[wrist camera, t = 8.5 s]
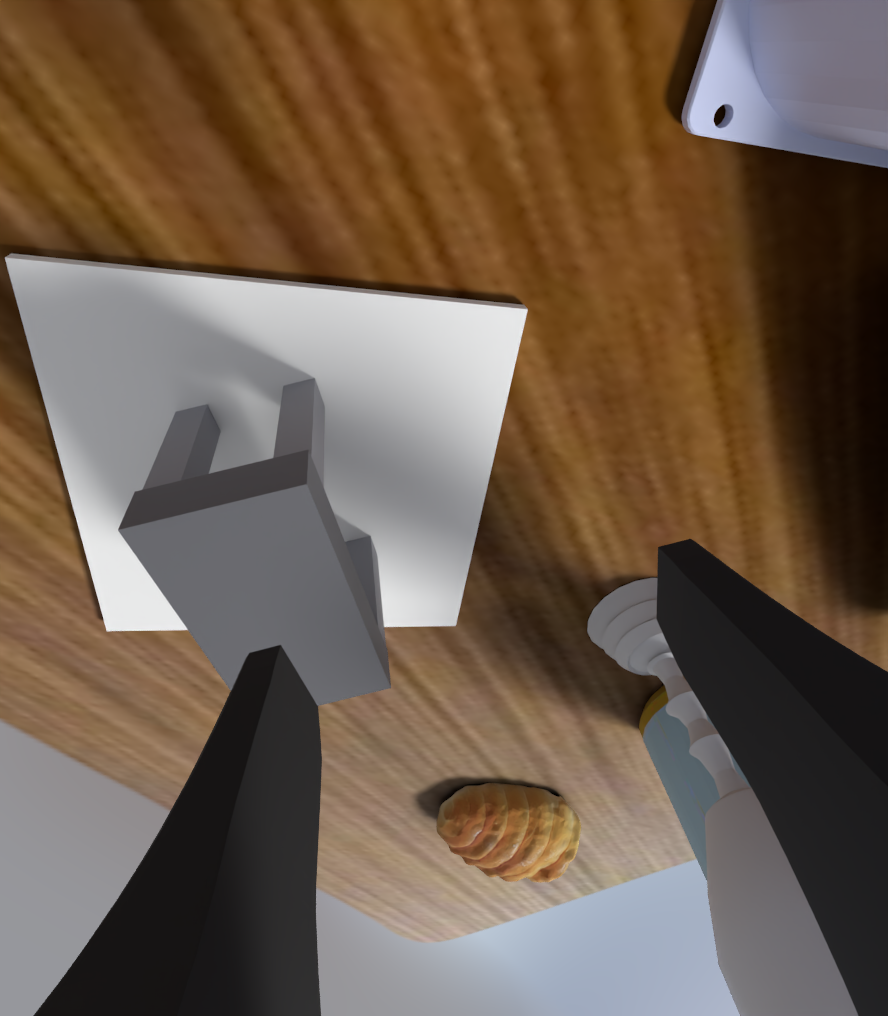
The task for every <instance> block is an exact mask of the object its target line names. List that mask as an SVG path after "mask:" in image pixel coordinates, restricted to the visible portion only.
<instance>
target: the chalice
mask: <svg viewBox="0 0 888 1016" xmlns="http://www.w3.org/2000/svg"><path fill="white" fill-rule="evenodd" d="M656 615H657V578H648V579H643V580H638V581H634V582H632V583H629V584H627V585H624V586H622V587H619V588H618V589H616V590H615V591H613V592H612V593H610V594H609V595H607V596H606V597H604V598H603V599H602V600H601V602H600V603H599V604H598V605H597V606H596V607H595V608H594V609H593V611H592V613H591V615H590V617H589V620H588V628H587V632H588V634H589V636H590V638H591V641H592V642H594V643H595V644H596V645H598V646H599V647H600V648H602V649H604V651H605V653H606V654H608V655H609V656H610V657H611V658H613V659H614V660H616V661H617V663H618V664H619V665H620V666H621V667H623V668H624V669H626V670H628V671H631V672H633V673H636V674H639V675H654V676H658V678H659V679H660V680H661V681H662V682H663V683H664V685H665V688H666V691H667V695H668V699H669V701H668V703H667V706H666V712H667V714H669V715H670V716H673V717H676V718H679V720H680V721H681V722H682V723H683V724H684V725H685V726H686V727H687V728H688V733H689V737H690V742H691V743H690V749H689V753H690V755H692V756H694V757H695V758H697V759H699V760H700V761H701V762H702V764H703V765H704V766H705V768H706V769H707V770H708V771H709V773H710V774H711V775H712V777H713V778H714V780H715V783H716V786H717V789H718V793H719V796H720V799H719V800H718V801H717V802H716V803H715V804H713V805H712V806H711V808H710V809H709V810H708V811H707V812H706V816H705V832H706V858H707V884H708V898H709V905H710V911H711V918H712V924H713V930H714V937H715V944H716V950H717V956H718V963H719V967H720V969H721V971H722V974H723V976H724V978H725V981H726V983H727V985H728V988H729V990H730V993H731V995H732V997H733V1000H734V1002H735V1004H736V1007H737V1009H738V1011H739V1014H740V1016H858V1013H857V1011H856V1009H855V1006H854V1004H853V1002H852V999H851V997H850V995H849V992H848V990H847V988H846V985H845V983H844V981H843V978H842V976H841V974H840V972H839V970H838V967H837V965H836V963H835V961H834V958H833V956H832V954H831V952H830V950H829V947H828V945H827V943H826V941H825V938H824V936H823V934H822V932H821V930H820V927H819V925H818V923H817V921H816V919H815V916H814V914H813V912H812V910H811V908H810V906H809V903H808V901H807V899H806V897H805V895H804V893H803V891H802V889H801V887H800V884H799V882H798V880H797V878H796V876H795V874H794V872H793V870H792V868H791V865H790V863H789V861H788V859H787V857H786V855H785V853H784V851H783V849H782V847H781V845H780V843H779V841H778V839H777V837H776V835H775V833H774V831H773V829H772V827H771V825H770V823H769V821H768V819H767V817H766V815H765V812H764V810H763V808H762V806H761V804H760V802H759V800H758V799H757V797H756V795H755V793H754V792H753V790H752V788H751V787H749V786H748V785H747V784H746V782H745V781H744V780H743V779H742V778H741V776H740V775H739V774H738V773H737V772H736V770H735V768H734V765H733V762H732V759H731V756H730V753H729V750H728V748H727V746H726V745H725V743H724V741H723V740H722V738H721V736H720V735H719V733H718V732H717V730H716V729H715V728H714V727H713V726H712V725H711V724H710V723H709V721H708V720H707V716H706V712H705V710H704V709H703V707H702V706H701V704H700V702H699V701H698V699H697V697H696V696H695V694H694V692H693V691H692V689H691V687H690V686H689V684H688V682H687V681H686V680H685V679H684V678H683V675H682V672H681V671H680V669H679V667H678V665H677V663H676V661H675V659H674V657H673V655H672V652H671V650H670V648H669V646H668V644H667V642H666V639H665V637H664V635H663V633H662V630H661V628H660V626H659V624H658V622H657V619H656Z"/></svg>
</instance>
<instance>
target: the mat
mask: <svg viewBox="0 0 888 1016" xmlns="http://www.w3.org/2000/svg"><path fill="white" fill-rule="evenodd" d="M5 261H6V264H7V268H8V272H9V275H10V279H11V283H12V286H13V290H14V294H15V297H16V301H17V305H18V308H19V312H20V316H21V319H22V323H23V326H24V330H25V334H26V337H27V341H28V345H29V348H30V352H31V356H32V359H33V363H34V367H35V370H36V374H37V378H38V381H39V385H40V389H41V392H42V396H43V400H44V403H45V407H46V411H47V414H48V418H49V422H50V425H51V429H52V433H53V436H54V440H55V443H56V447H57V451H58V454H59V458H60V462H61V465H62V469H63V473H64V476H65V480H66V484H67V487H68V491H69V495H70V498H71V502H72V506H73V509H74V513H75V517H76V520H77V524H78V528H79V531H80V535H81V539H82V542H83V546H84V550H85V553H86V557H87V560H88V564H89V568H90V571H91V575H92V579H93V582H94V586H95V590H96V593H97V597H98V601H99V604H100V608H101V612H102V615H103V619H104V623H105V626H106V630H107V631H150V630H188V629H187V628H186V626H185V625H184V623H183V622H182V621H181V619H180V618H179V616H178V615H177V614H176V612H175V611H174V609H173V608H172V606H171V605H170V604H169V602H168V601H167V599H166V598H165V596H164V595H163V594H162V592H161V591H160V589H159V588H158V587H157V585H156V584H155V582H154V581H153V579H152V578H151V577H150V575H149V574H148V572H147V571H146V569H145V568H144V567H143V565H142V564H141V562H140V561H139V560H138V558H137V557H136V555H135V554H134V552H133V551H132V550H131V548H130V547H129V545H128V544H127V542H126V541H125V540H124V538H123V537H122V535H121V534H120V533H119V531H118V528H119V526H120V524H121V522H122V519H123V517H124V515H125V513H126V510H127V508H128V506H129V504H130V501H131V499H132V497H133V495H134V492H135V491H140V490H142V489H143V487H144V485H145V482H146V480H147V478H148V475H149V473H150V471H151V468H152V466H153V464H154V461H155V459H156V457H157V454H158V452H159V450H160V447H161V445H162V443H163V440H164V438H165V435H166V433H167V431H168V428H169V426H170V424H171V421H172V419H173V417H174V414H175V412H177V411H181V410H185V409H189V408H193V407H197V406H201V405H206V404H208V407H209V409H210V411H211V413H212V415H213V417H214V419H215V421H216V423H217V425H218V427H219V429H220V431H221V433H220V436H219V440H218V443H217V446H216V450H215V453H214V457H213V460H212V464H211V467H210V471H209V474H210V473H214V472H218V471H222V470H226V469H230V468H234V467H238V466H243V465H247V464H251V463H255V462H259V461H263V460H267V459H271V458H273V456H274V448H275V441H276V434H277V427H278V420H279V413H280V406H281V398H282V391H283V386H284V385H288V384H292V383H296V382H301V381H305V380H309V379H313V378H315V380H316V382H317V385H318V388H319V391H320V394H321V397H322V399H323V402H324V405H325V433H324V490H325V492H326V495H327V497H328V500H329V503H330V505H331V508H332V510H333V513H334V515H335V518H336V520H337V523H338V525H339V528H340V531H341V533H342V536H343V538H344V541H345V542H347V541H351V540H355V539H359V538H363V537H367V536H371V538H372V541H373V544H374V547H375V550H376V552H377V556H378V567H379V578H380V589H381V599H382V610H383V621H384V627H415V626H456V623H457V618H458V614H459V609H460V605H461V601H462V596H463V592H464V587H465V583H466V579H467V574H468V570H469V565H470V561H471V557H472V552H473V548H474V543H475V539H476V535H477V530H478V526H479V521H480V517H481V513H482V508H483V504H484V499H485V495H486V490H487V486H488V482H489V477H490V473H491V468H492V464H493V460H494V455H495V451H496V446H497V442H498V438H499V433H500V429H501V424H502V420H503V416H504V411H505V407H506V402H507V398H508V394H509V389H510V385H511V380H512V376H513V372H514V367H515V363H516V358H517V354H518V350H519V345H520V341H521V336H522V332H523V328H524V323H525V319H526V314H527V310H528V309H527V308H526V306H525V305H521V304H511V303H501V302H491V301H481V300H471V299H461V298H451V297H441V296H431V295H421V294H411V293H401V292H391V291H381V290H371V289H361V288H351V287H341V286H331V285H321V284H311V283H301V282H291V281H281V280H271V279H261V278H251V277H241V276H231V275H222V274H212V273H202V272H192V271H182V270H172V269H162V268H152V267H142V266H132V265H122V264H112V263H102V262H92V261H82V260H72V259H62V258H52V257H42V256H32V255H22V254H12V253H11V254H10V255H8V256H6V257H5Z"/></svg>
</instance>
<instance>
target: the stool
mask: <svg viewBox="0 0 888 1016" xmlns="http://www.w3.org/2000/svg"><path fill="white" fill-rule="evenodd" d="M220 433H221V431H220V429H219V427H218V425H217V423H216V421H215V419H214V417H213V415H212V413H211V411H210V409H209V407H208V404H206V405H201V406H197V407H193V408H189V409H185V410H181V411H177V412H175V414H174V417H173V419H172V421H171V424H170V426H169V428H168V431H167V433H166V435H165V438H164V440H163V443H162V445H161V447H160V450H159V452H158V454H157V457H156V459H155V461H154V464H153V466H152V468H151V471H150V473H149V475H148V478H147V480H146V482H145V485H144V487H143V489H142V490H140V491H135V492H134V495H133V497H132V499H131V501H130V504H129V506H128V508H127V510H126V513H125V515H124V517H123V519H122V522H121V524H120V526H119V528H118V531H119V533H120V534H121V535H122V537H123V538H124V540H125V541H126V542H127V544H128V545H129V547H130V548H131V550H132V551H133V552H134V554H135V555H136V557H137V558H138V560H139V561H140V562H141V564H142V565H143V567H144V568H145V569H146V571H147V572H148V574H149V575H150V577H151V578H152V579H153V581H154V582H155V584H156V585H157V587H158V588H159V589H160V591H161V592H162V594H163V595H164V596H165V598H166V599H167V601H168V602H169V604H170V605H171V606H172V608H173V609H174V611H175V612H176V614H177V615H178V616H179V618H180V619H181V621H182V622H183V623H184V625H185V626H186V628H187V629H188V631H189V632H190V633H191V635H192V636H193V638H194V639H195V641H196V642H197V643H198V645H199V646H200V648H201V649H202V650H203V652H204V653H205V655H206V656H207V658H208V659H209V660H210V662H211V663H212V665H213V666H214V668H215V669H216V670H217V672H218V673H219V675H220V676H221V677H222V679H223V680H224V682H225V683H226V685H227V686H228V687H229V689H230V690H232V688H233V685H234V683H235V681H236V679H237V676H238V674H239V672H240V670H241V668H242V665H243V663H244V661H245V659H246V657H247V656H248V654H249V653H251V652H254V651H258V650H262V649H266V648H270V647H274V646H278V645H281V646H282V648H283V649H284V651H285V652H286V654H287V656H288V657H289V659H290V661H291V662H292V664H293V666H294V667H295V669H296V671H297V672H298V674H299V676H300V677H301V679H302V681H303V682H304V684H305V686H306V687H307V689H308V691H309V692H310V694H311V696H312V697H313V699H314V701H315V702H316V704H317V706H319V705H323V704H327V703H331V702H335V701H339V700H343V699H347V698H351V697H356V696H360V695H364V694H368V693H372V692H376V691H380V690H384V689H388V688H391V683H390V673H389V662H388V652H387V648H386V642H385V632H384V621H383V610H382V599H381V589H380V578H379V567H378V556H377V552H376V550H375V547H374V544H373V541H372V538H371V536H367V537H363V538H359V539H355V540H351V541H347V542H345V541H344V538H343V536H342V533H341V531H340V528H339V525H338V523H337V520H336V518H335V515H334V513H333V510H332V508H331V505H330V503H329V500H328V497H327V495H326V492H325V490H324V433H325V405H324V402H323V399H322V397H321V394H320V391H319V388H318V385H317V382H316V380H315V378H313V379H309V380H305V381H301V382H296V383H292V384H288V385H284V386H283V391H282V398H281V406H280V413H279V420H278V427H277V434H276V441H275V448H274V456H273V458H271V459H267V460H263V461H259V462H255V463H251V464H247V465H243V466H238V467H234V468H230V469H226V470H222V471H218V472H214V473H210V474H209V471H210V467H211V464H212V460H213V457H214V453H215V450H216V446H217V443H218V440H219V436H220Z"/></svg>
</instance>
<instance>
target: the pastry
mask: <svg viewBox="0 0 888 1016" xmlns="http://www.w3.org/2000/svg"><path fill="white" fill-rule="evenodd" d="M580 830H581V824H580V820H579V818H578V816H577V814H576V813H575V811H574V810H573V809H572V808H571V807H570V806H569V805H568V804H567V803H566V802H565V800H564V799H563V798H562V797H561V796H560V797H557V796H555V795H553V794H551V793H550V792H549V791H548V790H544V789H539V788H536V787H531V788H529V787H525V786H522V785H511V784H502V783H485V784H484V785H479V786H465V787H464V788H462V789H461V790H458V791H456V792H455V794H454V795H453V796H452V797H451V798H449V799H448V800H446V801H445V802H443V803H442V805H441V806H440V810H439V815H438V819H437V832H438V834H439V835H440V836H441V838H443V839H444V841H445V842H446V843H447V844H448V845H449V848H450V850H451V852H453V853H454V854H458V855H460V856H461V857H462V858H463V859H464V861H465V863H466V864H468V865H475V866H476V867H478V868H479V869H480V870H481V871H483V872H484V873H485V874H486V875H487V876H489V877H495V876H499V877H500V878H502V879H503V880H505V881H508V882H512V881H518V880H520V879H522V878H525V877H526V878H528V879H530V880H531V881H532V882H550V881H552V880H554V879H557V878H559V877H560V876H561V875H562V874H563V873H564V872H565V871H566V869H567V867H568V865H569V863H570V862H571V861H572V860H573V859H574V858H575V855H576V853H577V849H578V846H579V838H580Z"/></svg>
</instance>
